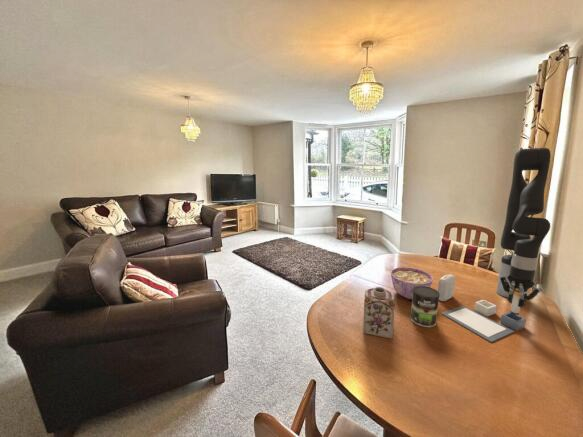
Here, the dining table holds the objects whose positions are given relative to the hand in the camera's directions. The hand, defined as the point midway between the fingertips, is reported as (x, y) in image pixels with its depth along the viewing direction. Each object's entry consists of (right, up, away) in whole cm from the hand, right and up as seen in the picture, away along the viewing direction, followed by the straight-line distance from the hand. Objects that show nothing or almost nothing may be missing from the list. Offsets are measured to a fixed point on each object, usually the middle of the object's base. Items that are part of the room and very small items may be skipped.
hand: (516, 304), depth 106 cm
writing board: (-14, -9, +5) cm, 17 cm away
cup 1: (-4, -7, +12) cm, 15 cm away
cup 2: (0, -10, +2) cm, 10 cm away
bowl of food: (-31, -5, +28) cm, 42 cm away
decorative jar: (-57, -11, +3) cm, 58 cm away
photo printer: (-15, -5, +25) cm, 29 cm away
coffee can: (-35, -10, +7) cm, 37 cm away
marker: (0, -4, +1) cm, 4 cm away
